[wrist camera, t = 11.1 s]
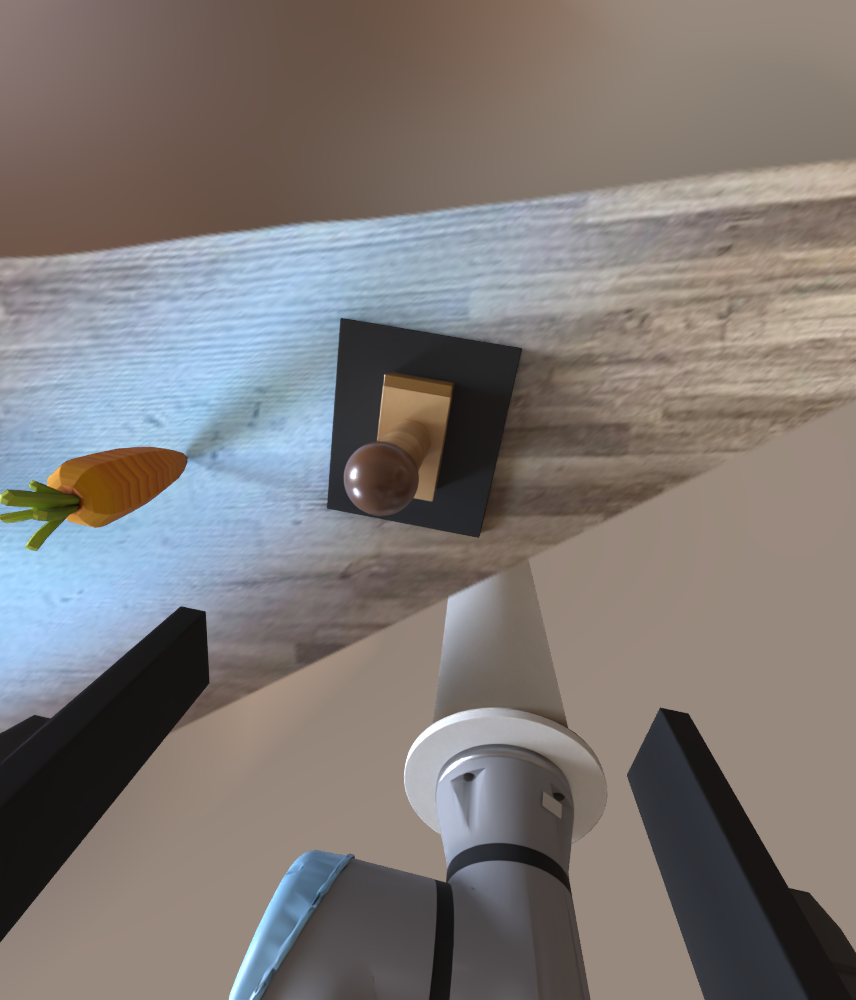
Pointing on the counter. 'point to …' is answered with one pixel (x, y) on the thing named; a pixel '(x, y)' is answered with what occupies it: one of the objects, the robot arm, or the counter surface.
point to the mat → (471, 424)
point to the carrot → (95, 489)
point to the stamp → (402, 446)
